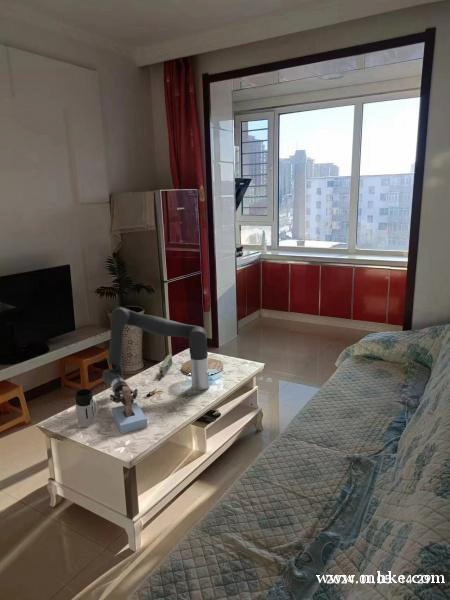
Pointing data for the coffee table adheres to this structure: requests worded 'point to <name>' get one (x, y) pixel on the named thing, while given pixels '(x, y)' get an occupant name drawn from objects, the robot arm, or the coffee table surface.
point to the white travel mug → (85, 408)
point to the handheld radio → (165, 366)
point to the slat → (127, 401)
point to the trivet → (211, 365)
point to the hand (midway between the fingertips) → (128, 402)
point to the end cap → (129, 418)
